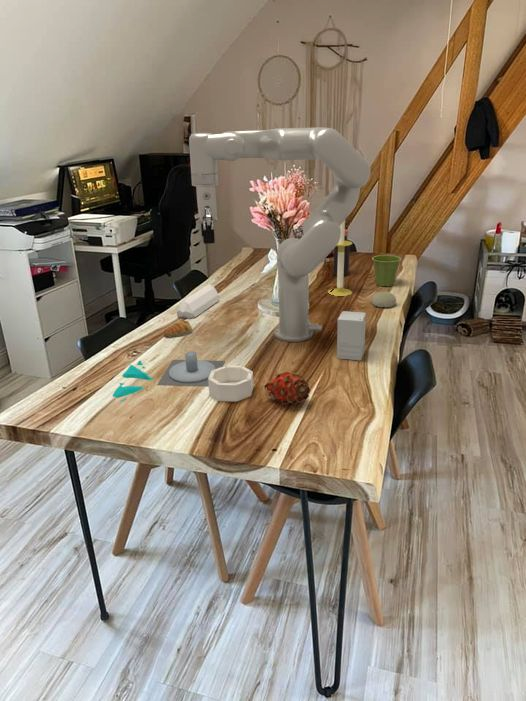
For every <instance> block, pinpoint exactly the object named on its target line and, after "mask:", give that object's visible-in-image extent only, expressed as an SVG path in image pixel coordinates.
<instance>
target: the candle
mask: <svg viewBox="0 0 526 701" xmlns="http://www.w3.org/2000/svg"><path fill="white" fill-rule="evenodd" d="M345 228H346V219H345V220H344V221H343V223H342V224H341V225H340V229H341V236H340V240H339V242H338V244H337V245H336V246H338V267H337V276H336V288H331V289H328V290H327V292H328V293H329V294H331V295H334V296H333V297H337V296H344V297H349V296H351V295H353V291H352V290H350V289H348V288H344V248H345V246H349V245H350V246H352V245H353V242H352V241H350V240H349V241H344V234H345ZM332 289H334V290H333V291H332V292H330V291H331V290H332ZM328 293H327V294H328ZM329 294H328V295H329ZM331 295H330V296H331ZM348 295H349V296H348Z"/></svg>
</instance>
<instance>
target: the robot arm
mask: <svg viewBox="0 0 526 701" xmlns="http://www.w3.org/2000/svg"><path fill="white" fill-rule="evenodd" d="M188 143H189V158H190V175H191V177H190V178H191V186H193V187H196V189H195V190H196V201H197V211H198V215H199V219H200V222H201V223H200V225H201V226H200V228H201V230H200V232H201V237H202V240H203V242H202V243H203V244H207V245H208V244H215V243H216V242H215V229H214V222H217V221H218V213H217V212H218V211H217V210H218V209H217V194H216V187H215V186H219V175H218V174H219V173H218V161H225V162H235V161H239V159H266V160H272V161H303V160H304V161H305V160H308V161H309V160H320V161H321V162H322V163H323V164H324V165H325V166H326V167H327V169H329V170H330V172H332V177H333V186H332V189H331V191H330V193H329V194H328V195H327V196H326V198H325V199H324V200H323V201H322V203H320V205H319V206H318V207H317V208H316V209H315V210H314V211H313V212H312V213H311V214H310V215H309V217H307V218H306V219H305V221H304V223H303V225H302V232H303V235H302V236H301V237H300V239H299V238H296V237H290V238H287V239H284V240H283V241H282V242H280V243H279V246H278V248H277V250H276V251H277V252H276V262H277V263H276V264H277V265H276V266H277V275H278V276H277V280H278V325H279V326H278V328H276V329H275V330H274V337H276V338H277V339H278V340H281V341H284V342H291V343H293V342H302V341H303V342H304V341H306V340H309V339H311V338H312V337H313V335H314V332H322V331H323V325H319V323H312V322H310V320H311V319H310V318H309V290H310V289H309V286H310V285H309V280H310V279H309V274H311V273H312V272H313V271H314V270H315V269H317V267H318V266H319V265H320V264H321V263H322V262H323V261H324V260H325V259H326V258H327V256H328V255H330V254H331V253H332V251H334V248H335V247H336V245H337V244H338V242H339V240H340V236H341V229H340V225H341V224H342V223H343V221H344V220H345V221H346V219H347V218H348V217H349V215H350V214H351V213H352V212H353V211H354V210H355V207H356V205H357V204H358V201H359V198H360V193H361V188H362V187H364V186H366V184H368V182H369V180H370V178H371V172H372V171H371V167H370V164H369V162H368V161H367V160H366V159H365V158H364V156H363V155H362V154H360V153H359V152H358V151H357V149H355V148H354V147H353V145H352V144H350V142H349V141H347V139H345V137H344V136H343V135H342V134H341V133H340V132H339V131H338V130H336V129H335V128H331V127H323V126H322V127H317V126H315V127H288V128H287V127H283V128H282V127H281V128H280V127H278V128H272V129H264V130H263V129H261V130H240V131H239V130H235V131H231V130H230V131H229V130H228V131H224V132H222V133H216V134H215V133H211V132H195V133H191V134H190V136H189V139H188Z"/></svg>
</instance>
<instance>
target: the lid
mask: <svg viewBox="0 0 526 701" xmlns="http://www.w3.org/2000/svg"><path fill="white" fill-rule="evenodd" d="M197 354H198V353H197V352H196V351H187V352H185V353H184V358H185V359H184V360H186V361H185V362H181V363H178V364H176V365H174V366H173V367H172V368H171V369H170V370H169V376H170V378H171V379H172V380H174V381H177V382H181V383H196V382H201V381H204V380H207V379H208V378H209V376H210V373H211V371H212V370H215V366H214V365H213V364H212V363H210V362H207V361H208V360H207V361H202V359H200V360H199V359H198V356H197Z"/></svg>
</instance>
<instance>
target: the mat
mask: <svg viewBox="0 0 526 701" xmlns="http://www.w3.org/2000/svg"><path fill="white" fill-rule="evenodd" d="M201 360H202V359H201ZM185 361H186V360H185V359H172V360H171V361H170V363H169V365H168V367H167V368H166V369H165V371H164V373H163V374H162V376H161V378H160V379H159V380H158V382H157V384H156V386H175V387H177V386H178V387H206V388H207V387H208V388H209V384H208V379H207V380H204V381H201V382H196V383H181V382H177V381H174V380H172V379H171V378H170V376H169V370H170V369H171V368H172V367H173V366H174V365H176V364H178V363H181V362H185ZM202 361H207V362H210V363H212V364H213V365H214V366H215V369H218V368H221V367H223V366H225V363H226V360H206V359H205V360H202Z"/></svg>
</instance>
